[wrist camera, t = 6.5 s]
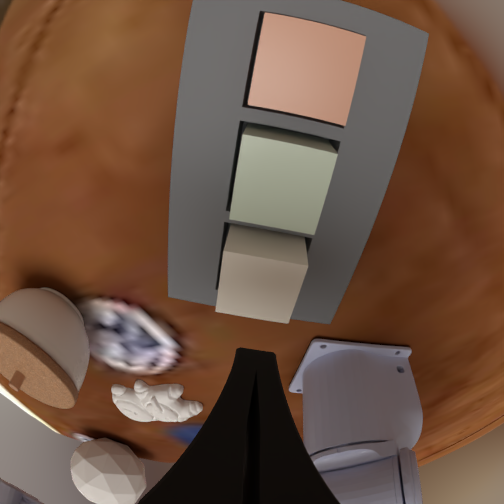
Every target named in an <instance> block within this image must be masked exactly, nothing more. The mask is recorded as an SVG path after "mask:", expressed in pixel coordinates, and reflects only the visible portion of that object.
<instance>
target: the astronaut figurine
mask: <svg viewBox="0 0 504 504" xmlns="http://www.w3.org/2000/svg"><path fill="white" fill-rule="evenodd" d="M111 391H112V393H113V394H112V398H113V402H114V403H115V404H116V406H117V408H118V409H119V410H120V411H121V412H122V413H123V414H124V415H126V416H127V417H129V418H131V419H133V420H136V421H141V422H149V421H157V420H160V421H165V422H171V421H172V422H177V421H178V422H182V421H186V420H187V419H188V418H189V417H192V416H194V415H197V414H198V413H199V412H201V411H202V409H203V406H202V403H200V402H198V401H188V400H183V399H182V398H181V397H180V396H181V394H182V393H183V386H182V385H180V384H161V385H155V386H148V385H147V384H146V383H145V382H144V381H142V380H136V382H135V385H134V389H131V388H126V387H125V386H122V385H119V384H114V385H113V386H112V388H111Z"/></svg>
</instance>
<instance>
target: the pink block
mask: <svg viewBox="0 0 504 504" xmlns="http://www.w3.org/2000/svg"><path fill="white" fill-rule="evenodd" d="M365 41H366V36H363V35H360V34H357V33H353V32H350V31H347V30H343V29H340V28H336V27H333V26H329V25H325V24H321V23H317V22H313V21H308V20H304V19H299V18H294V17H289V16H284V15H278V14H272V13H266V12H265V14H264V19H263V24H262V29H261V34H260V40H259V45H258V50H257V55H256V61H255V66H254V71H253V77H252V82H251V88H250V94H249V99H248V105H251V106H257V107H263V108H269V109H274V110H279V111H284V112H289V113H294V114H298V115H303V116H307V117H312V118H316V119H320V120H324V121H328V122H332V123H336V124H340V125H343V126H346V122H347V118H348V114H349V110H350V106H351V102H352V98H353V94H354V90H355V86H356V81H357V77H358V73H359V68H360V64H361V59H362V55H363V50H364V46H365Z"/></svg>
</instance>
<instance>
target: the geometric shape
mask: <svg viewBox="0 0 504 504" xmlns="http://www.w3.org/2000/svg"><path fill="white" fill-rule="evenodd" d="M71 473H72V479H73V482H74V484H75V485H76V487H77V489H78V490H79V491H80V492H81V493H82V494H83V495H84V496H85V497H86V498H87V499H88V500H89V501H92V502H94V503H97V504H135V502H136V501H137V499H138V498H139V497H140V495H141V494H142V492H143V491H144V489H145V488H146V479H145V471H144V464H143V463H142V462H141V461H140V460H139V458H138V457H137V456H136V455H135V454H134V453H133V451H132V450H131V449H130V448H129V447H128V446H127V445H124V444H121V443H119V442H116V441H113V440H110V439H108V438H100V439H96V440H91V441H86V442H83V443H82V444H81V445H80V446H79V447H78V448H77V449H76V450H75V452H74V454H73V456H72V458H71Z"/></svg>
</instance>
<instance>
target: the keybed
mask: <svg viewBox="0 0 504 504" xmlns="http://www.w3.org/2000/svg"><path fill="white" fill-rule="evenodd" d="M265 12H266V13H272V14H278V15H284V16H289V17H294V18H299V19H304V20H308V21H313V22H317V23H321V24H325V25H329V26H333V27H336V28H340V29H343V30H347V31H350V32H353V33H357V34H360V35H363V36H366V41H365V46H364V50H363V55H362V59H361V64H360V68H359V73H358V77H357V81H356V86H355V90H354V94H353V98H352V102H351V106H350V110H349V114H348V118H347V122H346V126H343V125H340V124H336V123H332V122H328V121H324V120H320V119H316V118H312V117H307V116H303V115H298V114H294V113H289V112H284V111H279V110H274V109H269V108H263V107H257V106H251V105H248V99H249V94H250V88H251V82H252V77H253V71H254V66H255V61H256V55H257V50H258V45H259V40H260V34H261V29H262V24H263V19H264V14H265ZM428 36H429V34H428V33H426V32H424V31H422V30H420V29H418V28H415V27H413V26H411V25H409V24H406V23H404V22H401V21H399V20H397V19H394V18H392V17H389V16H386V15H384V14H381V13H378V12H375V11H373V10H370V9H367V8H364V7H361V6H358V5H354V4H351V3H348V2H345V1H341V0H193V3H192V8H191V13H190V19H189V24H188V30H187V36H186V42H185V49H184V55H183V62H182V69H181V76H180V84H179V92H178V100H177V109H176V119H175V129H174V140H173V153H172V166H171V182H170V202H169V230H168V297H172V298H177V299H181V300H186V301H191V302H197V303H202V304H207V305H212V306H216V303H217V295H218V288H219V280H220V273H221V265H222V258H223V251H224V247H225V243H226V240H227V236H228V232H229V228H230V225H231V223H233V224H239V225H245V226H250V227H256V228H261V229H267V230H272V231H277V232H283V233H288V234H293V235H299V236H304V237H305V244H306V251H307V259H308V269H307V272H306V275H305V278H304V280H303V283H302V286H301V289H300V292H299V295H298V298H297V301H296V303H295V306H294V309H293V312H292V315H291V317H290V319H296V320H303V321H310V322H317V323H324V324H330V323H331V321H332V319H333V317H334V315H335V312H336V310H337V308H338V306H339V304H340V302H341V300H342V298H343V295H344V293H345V291H346V289H347V287H348V284H349V282H350V280H351V278H352V275H353V273H354V271H355V268H356V266H357V264H358V261H359V259H360V257H361V254H362V252H363V249H364V247H365V244H366V242H367V240H368V237H369V235H370V232H371V229H372V227H373V224H374V222H375V219H376V216H377V214H378V211H379V209H380V206H381V203H382V200H383V198H384V195H385V192H386V189H387V186H388V184H389V181H390V178H391V175H392V172H393V169H394V166H395V163H396V160H397V157H398V153H399V150H400V147H401V144H402V141H403V137H404V134H405V131H406V127H407V124H408V120H409V117H410V113H411V109H412V106H413V102H414V98H415V94H416V90H417V86H418V82H419V78H420V74H421V70H422V65H423V61H424V56H425V51H426V46H427V41H428ZM248 123H250V124H256V125H262V126H267V127H273V128H278V129H283V130H288V131H292V132H297V133H302V134H306V135H311V136H315V137H319V138H323V139H327V140H328V141H329V142H330V143H331V145H332V146H333V148H334V149H335V151H336V152H337V154H338V156H337V160H336V163H335V167H334V170H333V174H332V177H331V181H330V184H329V188H328V191H327V195H326V198H325V202H324V205H323V208H322V212H321V215H320V218H319V221H318V225H317V228H316V231H315V234H314V235H311V234H306V233H301V232H295V231H290V230H285V229H280V228H274V227H269V226H263V225H258V224H253V223H247V222H241V221H236V220H230V219H229V217H230V210H231V203H232V197H233V190H234V184H235V177H236V171H237V165H238V159H239V152H240V146H241V140H242V134H243V132H244V130H245V128H246V126H247V124H248Z"/></svg>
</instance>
